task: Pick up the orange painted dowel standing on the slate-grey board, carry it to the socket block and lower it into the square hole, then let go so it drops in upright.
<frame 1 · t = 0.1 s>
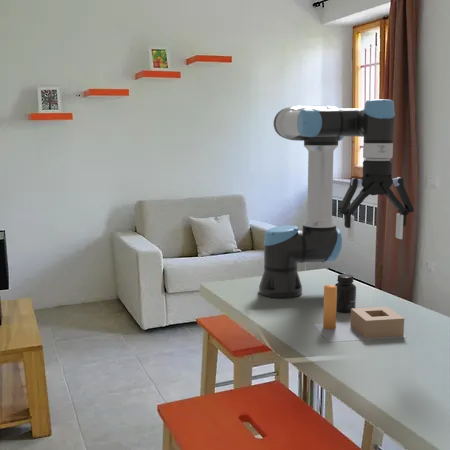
hand: (374, 239, 158), 28 cm above the table, fingers open, 13 cm apart
peg: (329, 327, 169), point 1 cm above the table, touching socket board
supplement bottle: (344, 313, 186), on the table
socket board: (357, 333, 167), on the table
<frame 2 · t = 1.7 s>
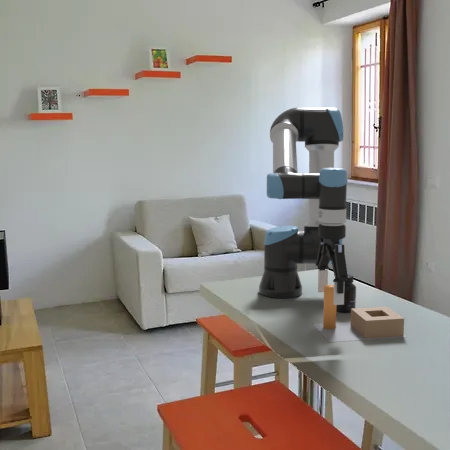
hand: (330, 298, 168), 10 cm above the table, fingers open, 13 cm apart
nothing on the table moved.
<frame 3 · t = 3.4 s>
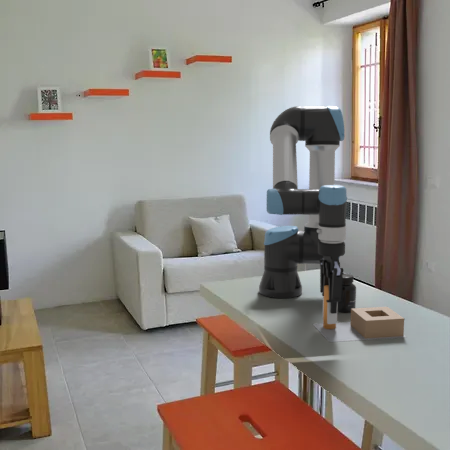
hand: (329, 321, 169), 3 cm above the table, fingers closed on peg, 3 cm apart
peg: (329, 327, 169), point 1 cm above the table, touching gripper, socket board
everything else where it was.
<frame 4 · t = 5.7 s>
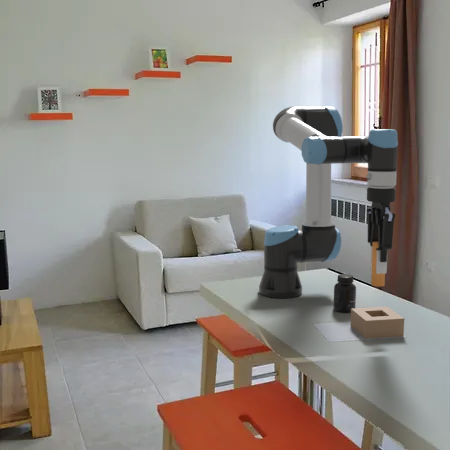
hand: (378, 271, 163), 18 cm above the table, fingers closed on peg, 3 cm apart
peg: (377, 284, 164), point 14 cm above the table, touching gripper
everything else where it was.
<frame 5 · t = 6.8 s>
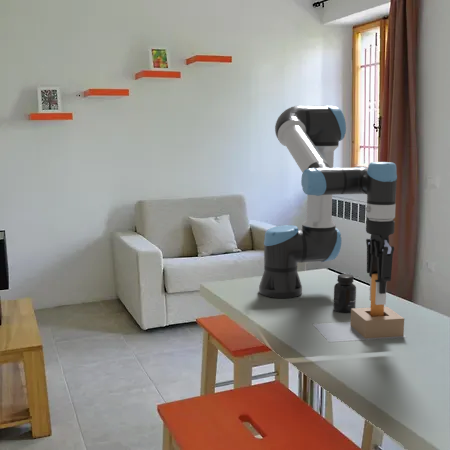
hand: (377, 301, 165), 9 cm above the table, fingers closed on peg, 3 cm apart
peg: (376, 316, 166), point 5 cm above the table, touching gripper
everything else where it was.
when the fingers open (7 cm above the table, at t = 7.9 s): peg drops 1 cm, resting on socket board.
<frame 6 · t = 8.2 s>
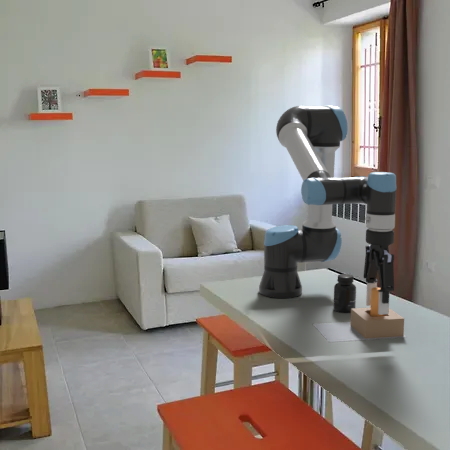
hand: (377, 309, 165), 7 cm above the table, fingers open, 8 cm apart
peg: (376, 330, 166), point 1 cm above the table, touching socket board
everything else where it was.
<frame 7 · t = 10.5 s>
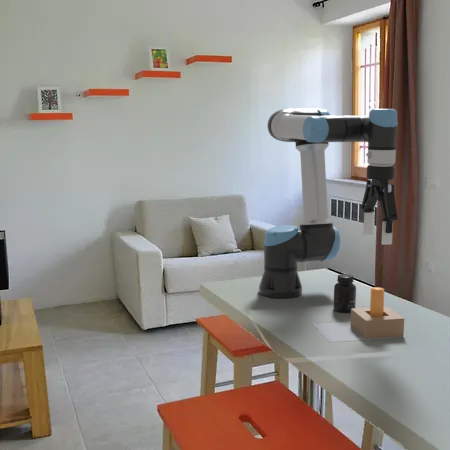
hand: (377, 239, 169), 26 cm above the table, fingers open, 13 cm apart
nothing on the table moved.
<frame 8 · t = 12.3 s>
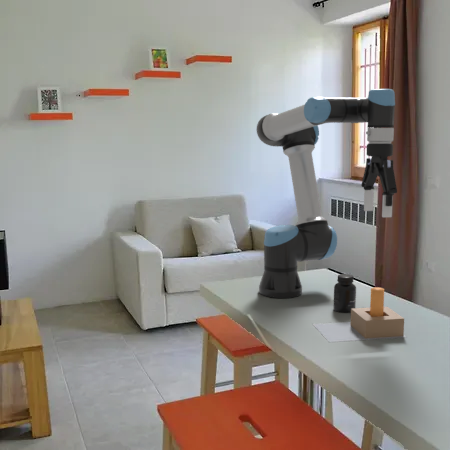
hand: (377, 214, 178), 32 cm above the table, fingers open, 13 cm apart
nothing on the table moved.
at the end: peg 0.1 cm from the target spot, point 1.0 cm above the table; peg tilted 0°; the gripper is holding nothing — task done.
